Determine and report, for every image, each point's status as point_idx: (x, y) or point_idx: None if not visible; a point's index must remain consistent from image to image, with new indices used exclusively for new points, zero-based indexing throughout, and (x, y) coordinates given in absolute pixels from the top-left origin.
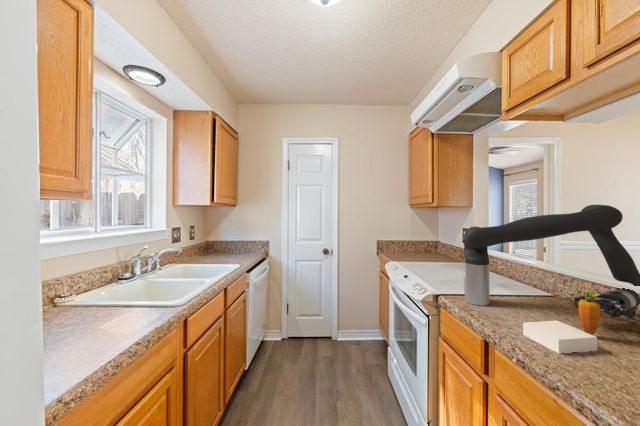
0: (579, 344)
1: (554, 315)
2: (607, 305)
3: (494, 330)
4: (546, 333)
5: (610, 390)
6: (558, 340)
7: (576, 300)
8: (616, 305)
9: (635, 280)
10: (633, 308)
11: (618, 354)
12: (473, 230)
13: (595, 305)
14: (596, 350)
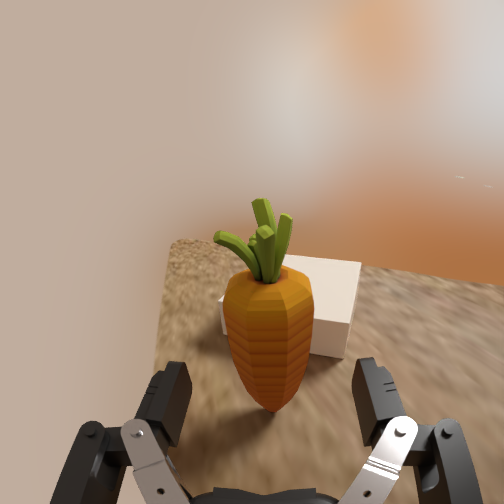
0: None
1: (485, 493)
2: (229, 490)
3: (390, 272)
4: (295, 256)
5: (188, 258)
6: None
7: (428, 427)
8: (158, 463)
9: None
10: (67, 484)
11: (184, 351)
12: None
13: (233, 276)
14: (224, 331)
